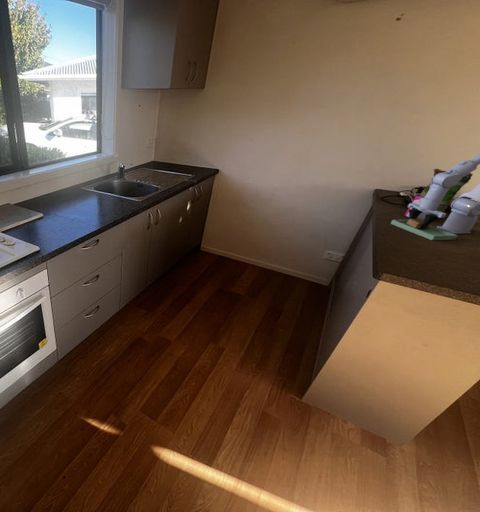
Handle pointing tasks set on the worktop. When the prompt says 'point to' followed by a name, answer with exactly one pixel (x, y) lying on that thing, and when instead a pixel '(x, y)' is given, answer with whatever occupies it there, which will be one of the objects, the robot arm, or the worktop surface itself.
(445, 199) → the pouch
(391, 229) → the worktop surface
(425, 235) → the tray
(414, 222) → the eraser
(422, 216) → the supplement box
